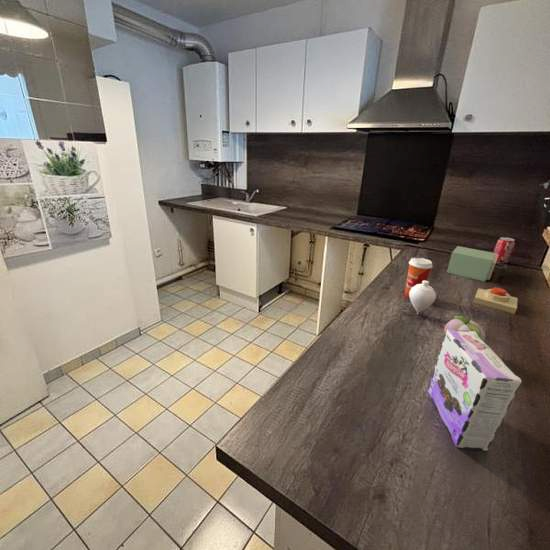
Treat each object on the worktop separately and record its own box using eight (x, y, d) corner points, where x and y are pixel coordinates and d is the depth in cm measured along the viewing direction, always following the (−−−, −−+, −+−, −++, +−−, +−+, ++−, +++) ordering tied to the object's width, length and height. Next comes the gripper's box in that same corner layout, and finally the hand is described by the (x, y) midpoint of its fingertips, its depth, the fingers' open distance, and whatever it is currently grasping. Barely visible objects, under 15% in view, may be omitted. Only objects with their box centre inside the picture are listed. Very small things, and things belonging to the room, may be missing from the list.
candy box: (425, 390, 65) (445, 327, 58) (453, 392, 64) (476, 330, 58) (455, 448, 52) (484, 376, 45) (489, 452, 52) (524, 380, 45)
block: (515, 303, 105) (519, 293, 103) (514, 314, 97) (519, 303, 96) (476, 293, 112) (479, 283, 110) (473, 302, 104) (476, 292, 103)
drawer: (503, 275, 127) (509, 258, 124) (501, 283, 119) (508, 265, 116) (457, 264, 137) (462, 249, 134) (453, 271, 129) (458, 255, 126)
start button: (505, 294, 103) (506, 289, 103) (504, 297, 100) (506, 293, 100) (491, 290, 106) (493, 286, 105) (490, 294, 103) (492, 289, 102)
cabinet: (488, 273, 131) (495, 253, 127) (485, 281, 122) (492, 260, 118) (451, 265, 139) (457, 246, 136) (446, 272, 130) (452, 252, 127)
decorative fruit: (487, 358, 76) (500, 325, 72) (462, 363, 73) (474, 330, 69) (456, 337, 84) (467, 307, 80) (434, 341, 82) (443, 310, 78)
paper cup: (398, 291, 111) (406, 256, 105) (418, 291, 111) (427, 257, 105) (406, 300, 104) (415, 264, 98) (427, 301, 104) (437, 265, 98)
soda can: (510, 262, 145) (518, 239, 140) (504, 265, 141) (513, 241, 137) (494, 258, 150) (502, 236, 146) (488, 260, 147) (496, 237, 142)
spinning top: (431, 323, 91) (441, 288, 86) (405, 317, 93) (413, 283, 88) (428, 311, 97) (437, 278, 93) (404, 306, 100) (411, 274, 95)
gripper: (546, 165, 109) (523, 227, 119) (595, 167, 102) (566, 233, 111) (546, 165, 115) (524, 224, 124) (592, 167, 107) (564, 229, 117)
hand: (544, 228), depth 118 cm, fingers closed
